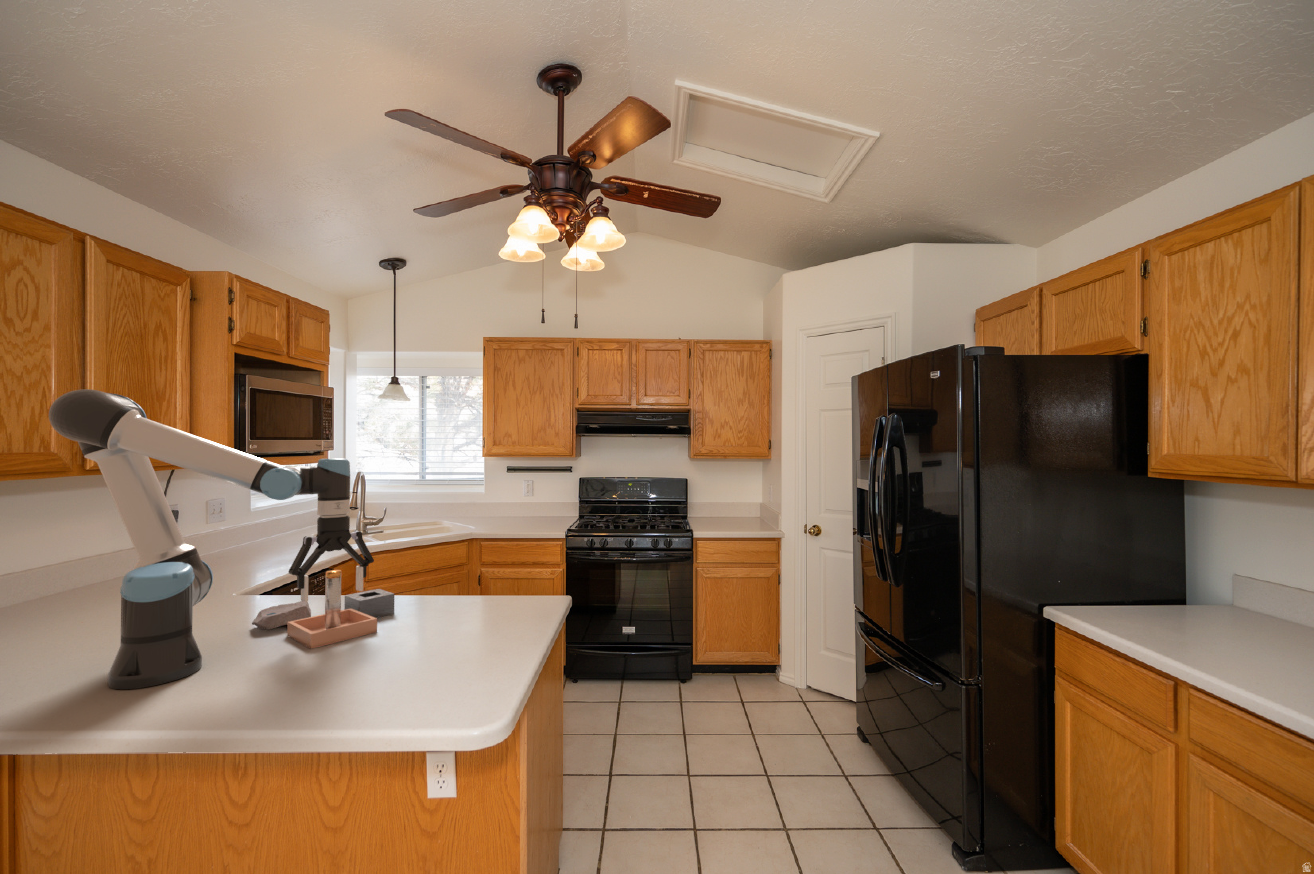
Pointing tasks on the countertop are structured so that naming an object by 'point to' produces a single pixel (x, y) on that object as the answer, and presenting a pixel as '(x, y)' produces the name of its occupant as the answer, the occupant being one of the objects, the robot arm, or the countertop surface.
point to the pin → (333, 599)
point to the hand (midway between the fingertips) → (332, 595)
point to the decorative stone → (281, 615)
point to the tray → (316, 635)
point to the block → (371, 602)
